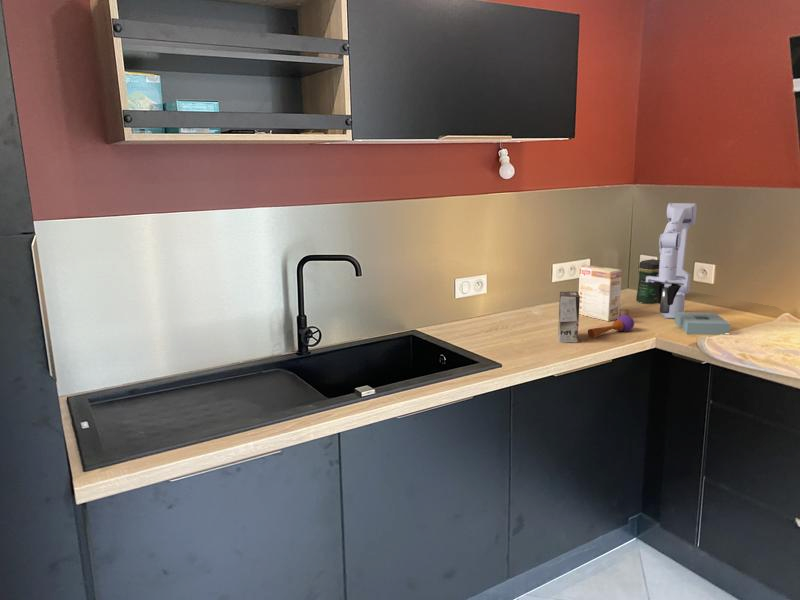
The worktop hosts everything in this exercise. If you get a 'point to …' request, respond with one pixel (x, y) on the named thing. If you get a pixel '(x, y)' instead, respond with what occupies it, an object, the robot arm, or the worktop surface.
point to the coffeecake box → (599, 292)
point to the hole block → (702, 323)
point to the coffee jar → (646, 288)
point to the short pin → (623, 312)
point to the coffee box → (568, 316)
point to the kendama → (614, 326)
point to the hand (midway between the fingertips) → (665, 303)
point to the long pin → (664, 300)
